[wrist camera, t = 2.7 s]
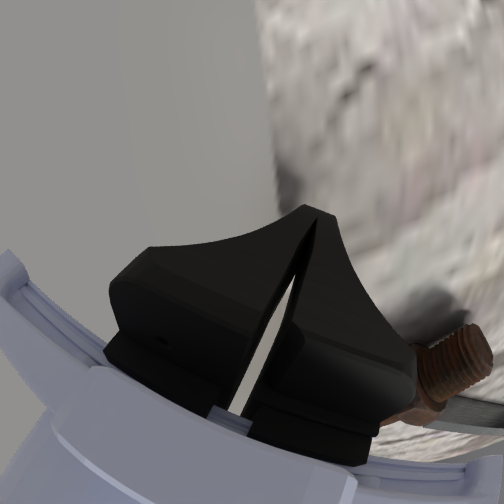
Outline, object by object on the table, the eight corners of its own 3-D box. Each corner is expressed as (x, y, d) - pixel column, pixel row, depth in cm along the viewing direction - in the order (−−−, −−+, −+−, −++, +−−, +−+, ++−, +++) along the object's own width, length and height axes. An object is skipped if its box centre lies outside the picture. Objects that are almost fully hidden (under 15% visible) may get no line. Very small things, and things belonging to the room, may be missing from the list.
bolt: (456, 332, 8) (266, 424, 17) (500, 413, 6) (302, 470, 15) (464, 290, 12) (312, 388, 21) (500, 352, 10) (342, 429, 19)
